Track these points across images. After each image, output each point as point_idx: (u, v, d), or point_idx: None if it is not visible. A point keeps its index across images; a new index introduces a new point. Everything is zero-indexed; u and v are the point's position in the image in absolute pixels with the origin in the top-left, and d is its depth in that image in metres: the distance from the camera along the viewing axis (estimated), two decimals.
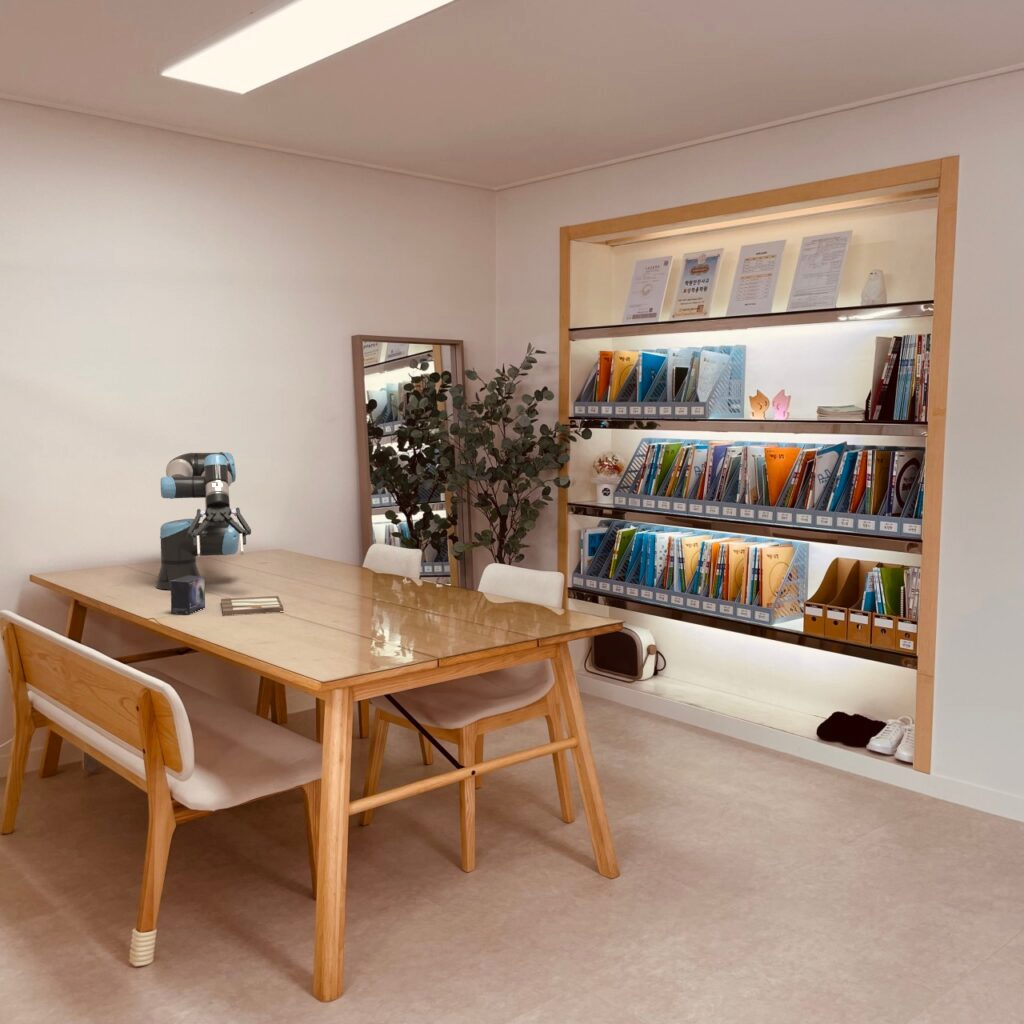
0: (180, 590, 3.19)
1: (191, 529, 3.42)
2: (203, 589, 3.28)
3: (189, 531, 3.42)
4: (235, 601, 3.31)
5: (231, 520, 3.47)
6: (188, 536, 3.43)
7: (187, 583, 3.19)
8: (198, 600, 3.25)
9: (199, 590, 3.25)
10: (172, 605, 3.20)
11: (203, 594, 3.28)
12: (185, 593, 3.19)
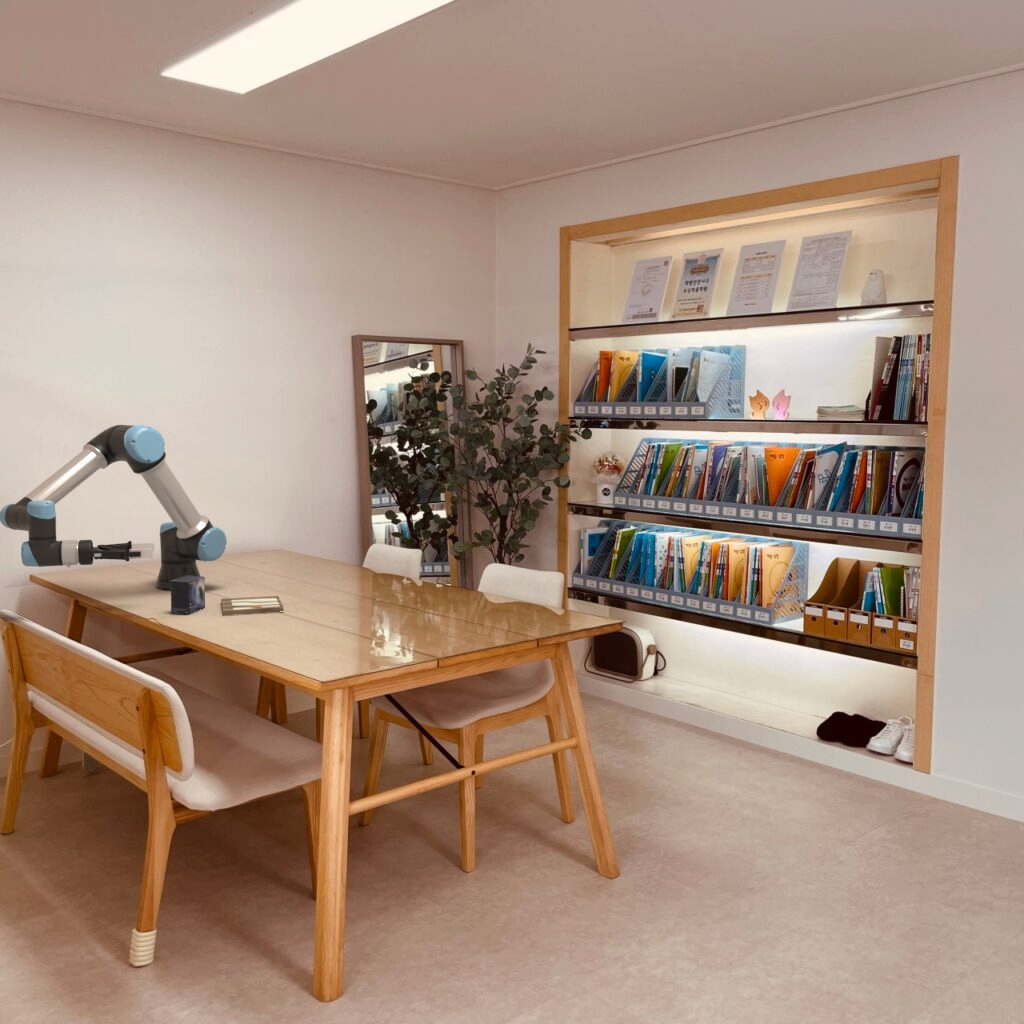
0: (180, 590, 3.19)
1: None
2: (203, 589, 3.28)
3: None
4: (235, 601, 3.31)
5: None
6: None
7: (187, 583, 3.19)
8: (198, 600, 3.25)
9: (199, 590, 3.25)
10: (172, 605, 3.20)
11: (203, 594, 3.28)
12: (185, 593, 3.19)
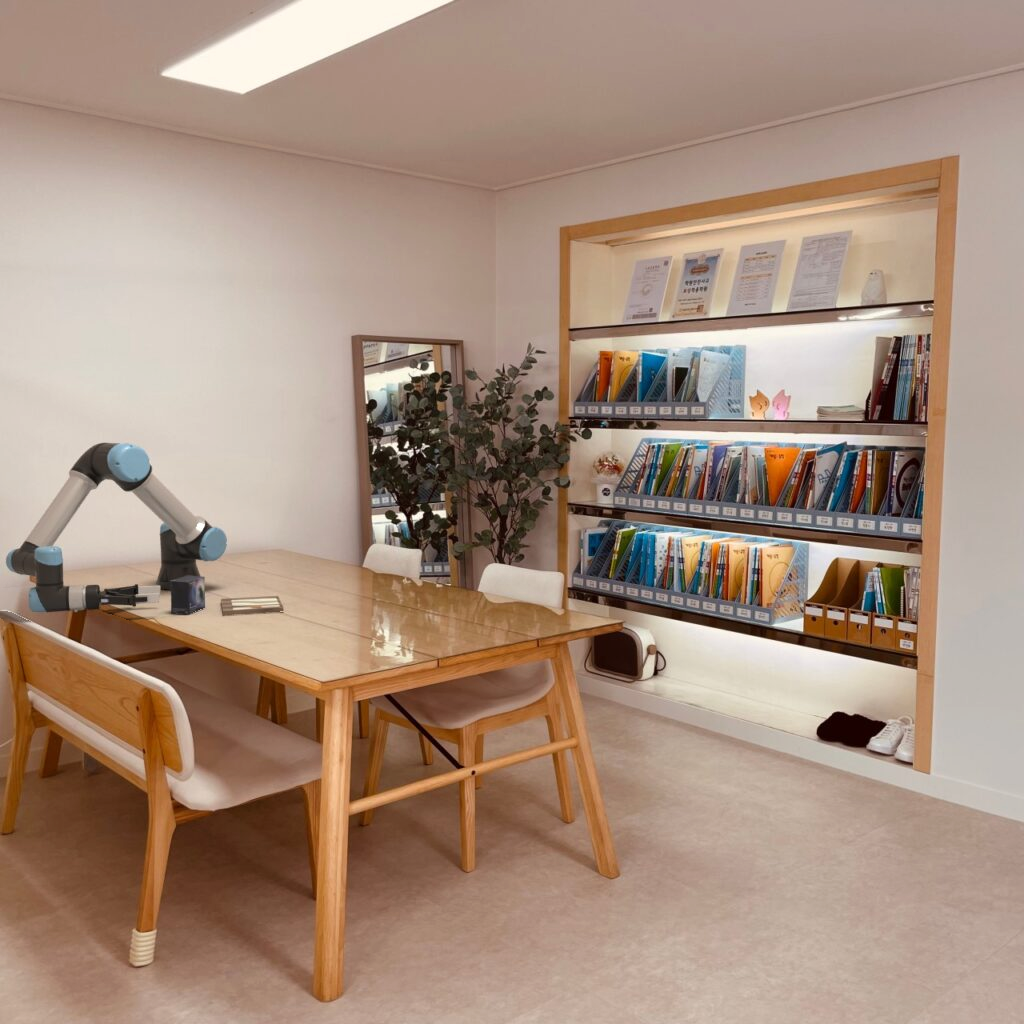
0: (180, 590, 3.19)
1: None
2: (203, 589, 3.28)
3: None
4: (235, 601, 3.31)
5: None
6: None
7: (187, 583, 3.19)
8: (198, 600, 3.25)
9: (199, 590, 3.25)
10: (172, 605, 3.20)
11: (203, 594, 3.28)
12: (185, 593, 3.19)
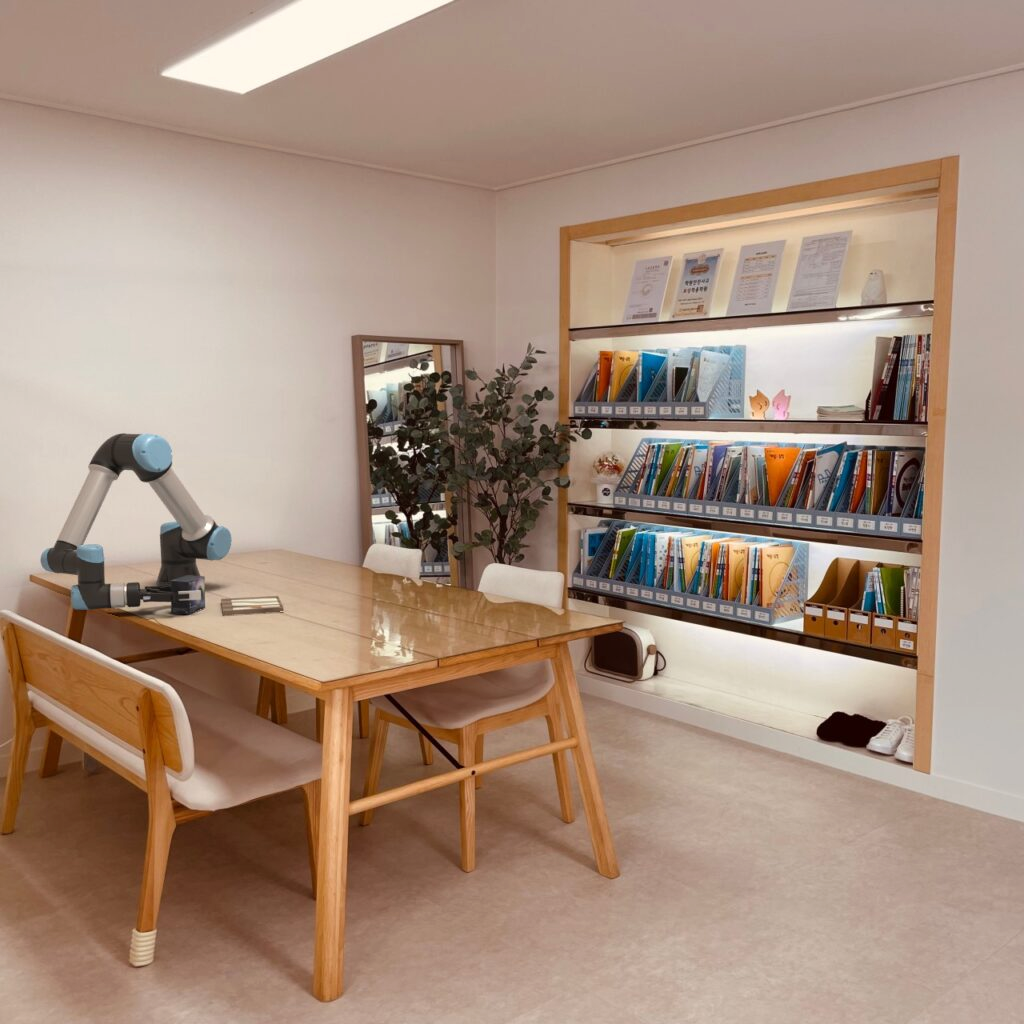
0: (180, 590, 3.19)
1: None
2: (203, 589, 3.28)
3: None
4: (235, 601, 3.31)
5: None
6: None
7: (187, 583, 3.19)
8: None
9: None
10: (172, 605, 3.20)
11: (203, 594, 3.28)
12: None
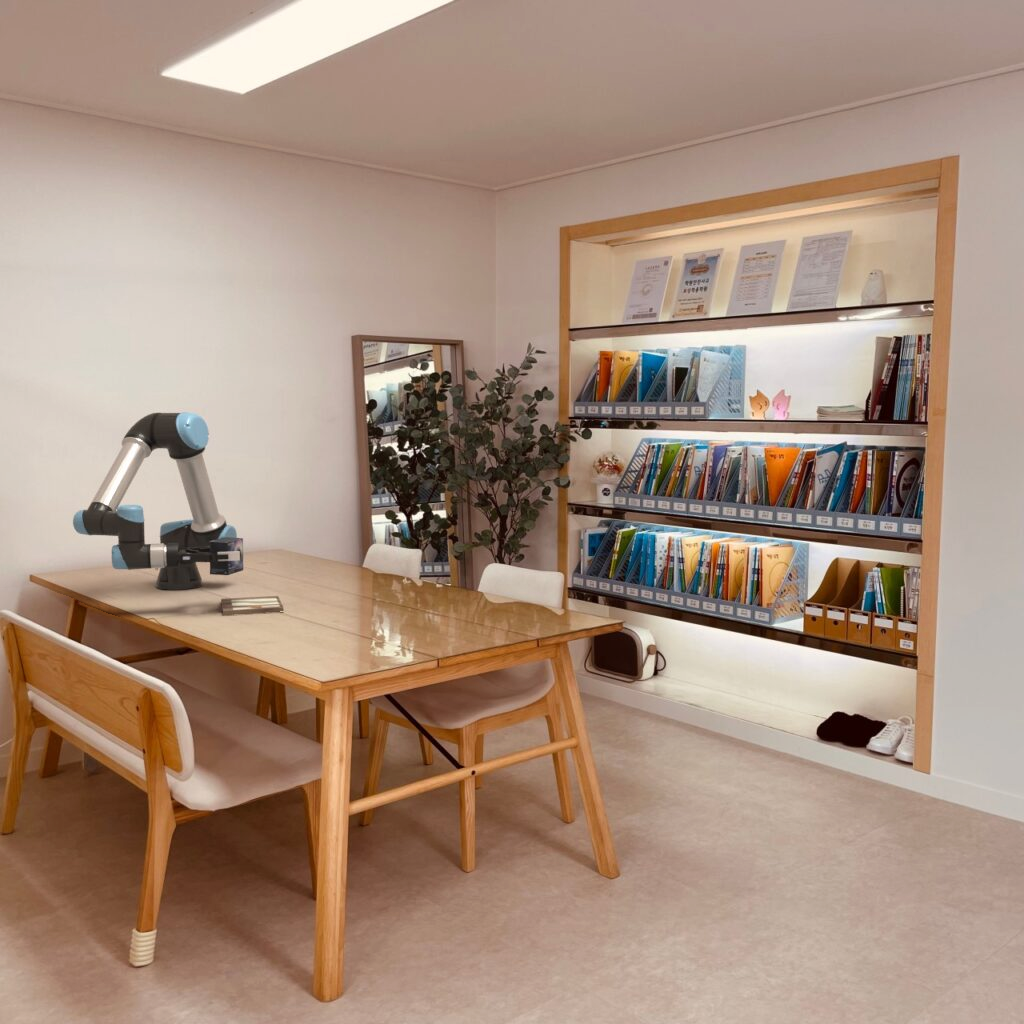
0: (219, 551, 3.20)
1: None
2: (241, 551, 3.28)
3: None
4: (235, 601, 3.31)
5: None
6: None
7: (226, 544, 3.19)
8: (237, 561, 3.25)
9: None
10: (211, 566, 3.21)
11: (241, 556, 3.28)
12: None
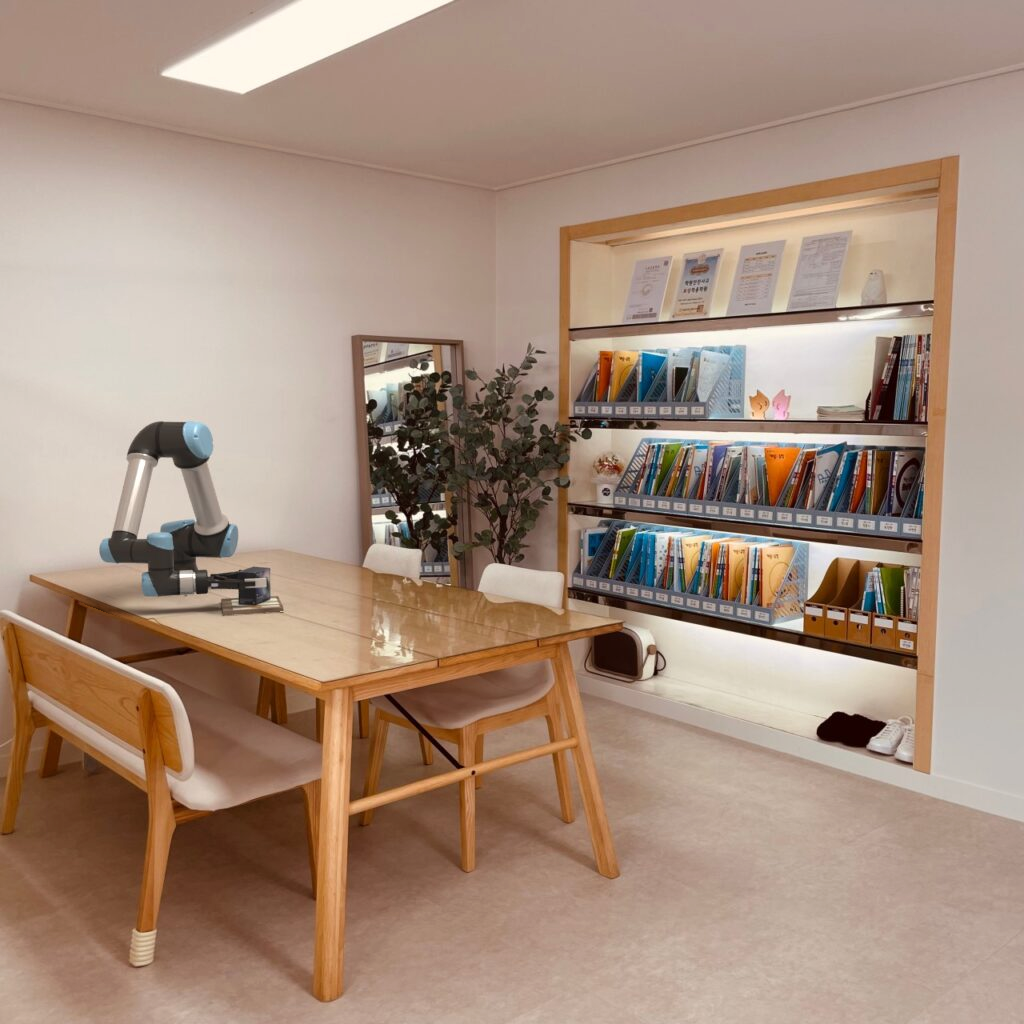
0: None
1: None
2: (269, 580, 3.33)
3: None
4: (235, 601, 3.31)
5: None
6: None
7: (254, 574, 3.24)
8: (265, 590, 3.30)
9: None
10: (239, 595, 3.26)
11: (269, 585, 3.33)
12: None
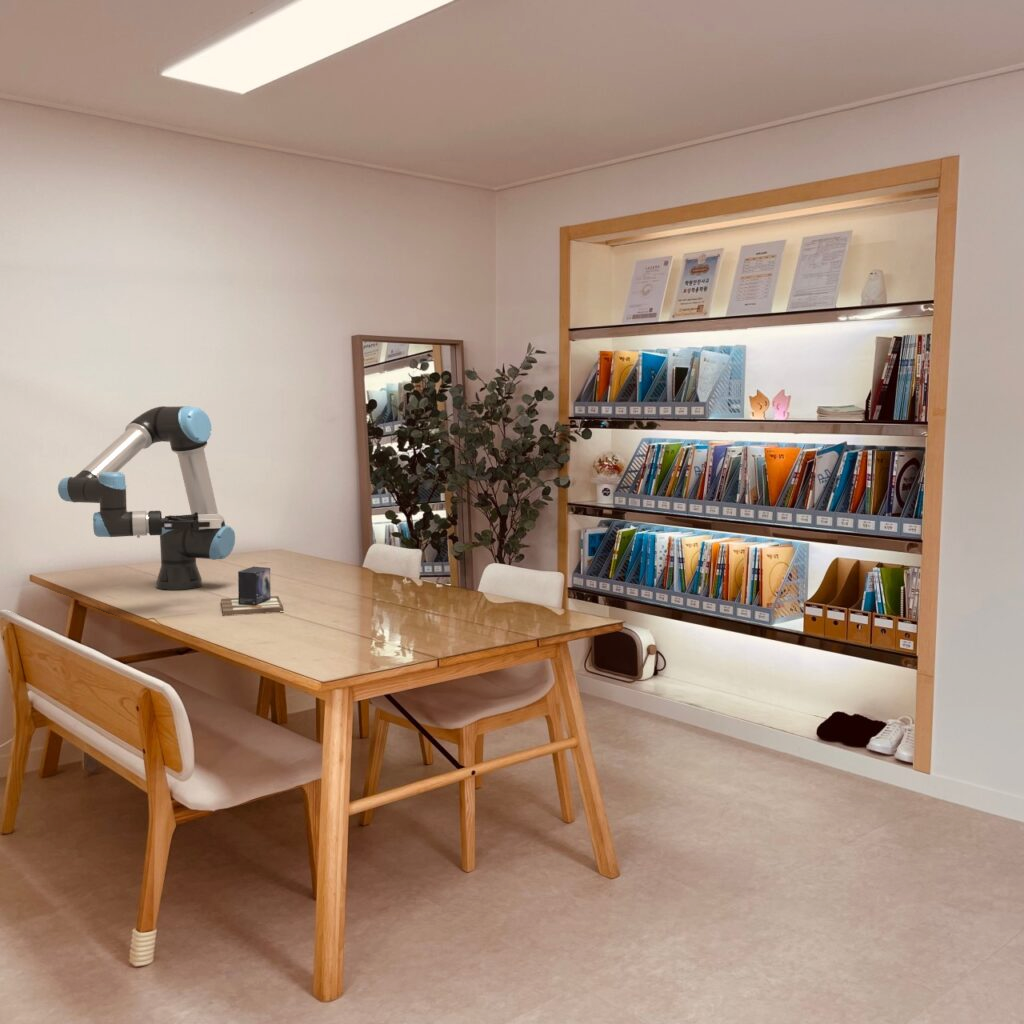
0: (247, 581, 3.25)
1: None
2: (269, 580, 3.33)
3: None
4: (235, 601, 3.31)
5: None
6: None
7: (254, 574, 3.24)
8: (265, 590, 3.30)
9: (265, 581, 3.30)
10: (239, 596, 3.26)
11: (269, 585, 3.33)
12: (252, 583, 3.25)
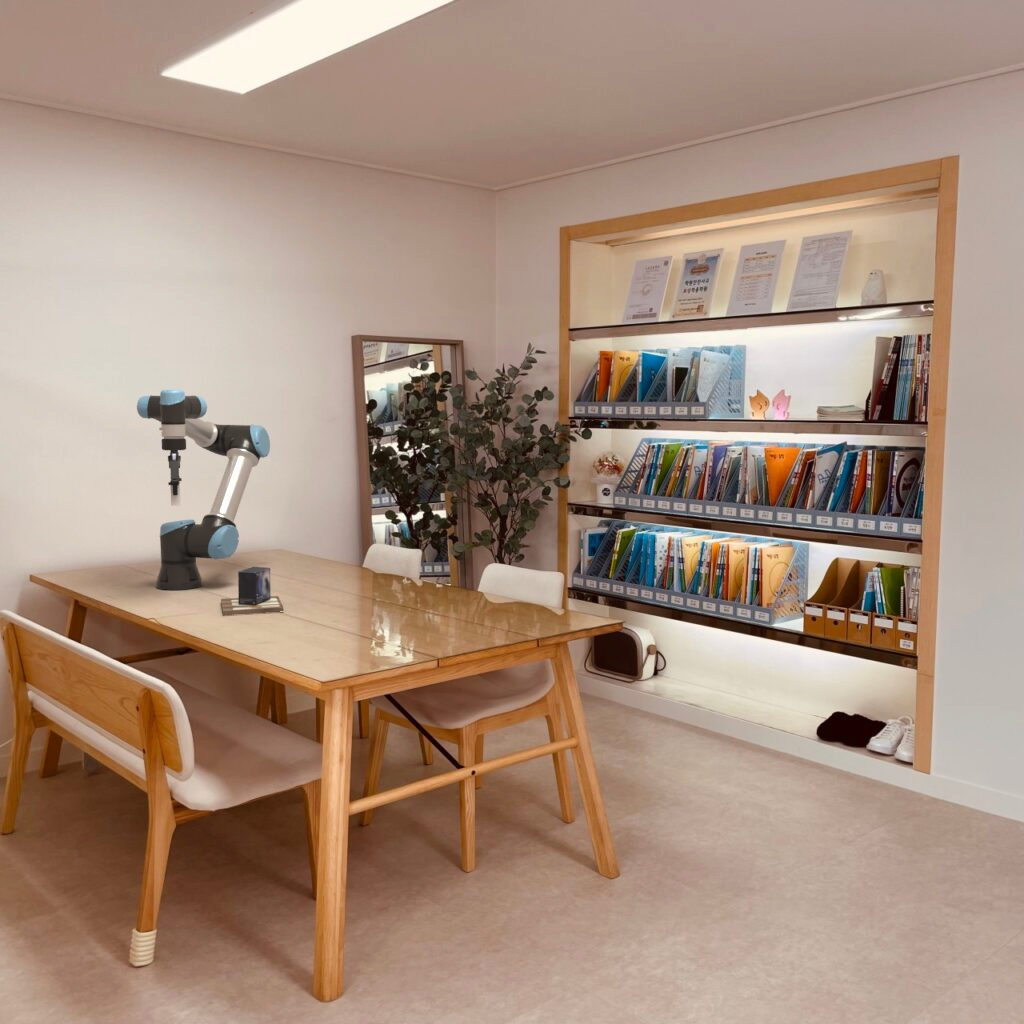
0: (247, 581, 3.25)
1: None
2: (269, 580, 3.33)
3: None
4: (235, 601, 3.31)
5: None
6: None
7: (254, 574, 3.24)
8: (265, 590, 3.30)
9: (265, 581, 3.30)
10: (239, 596, 3.26)
11: (269, 585, 3.33)
12: (252, 583, 3.25)
